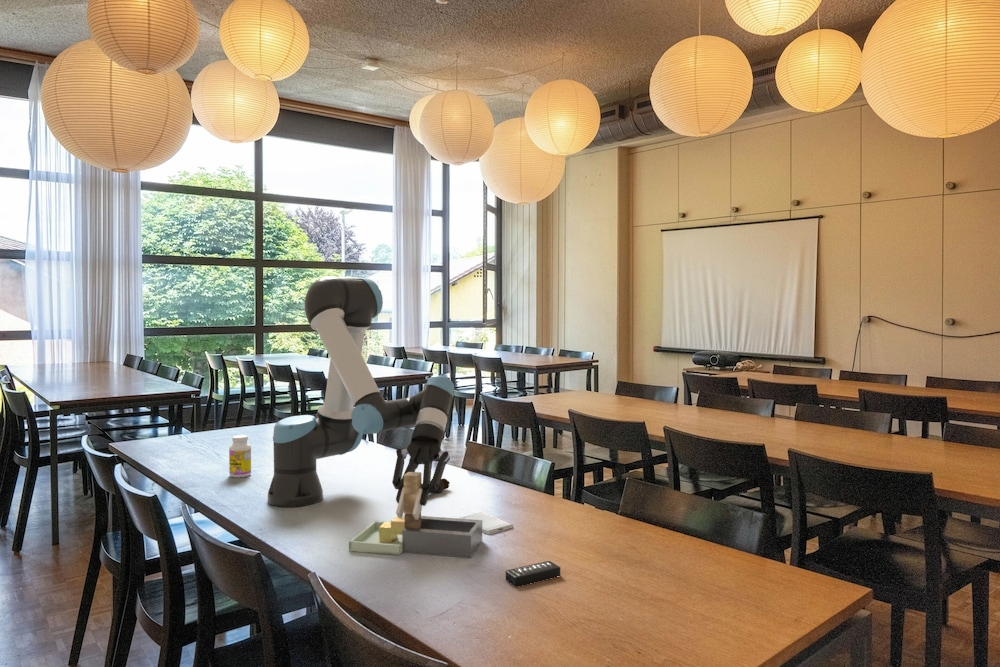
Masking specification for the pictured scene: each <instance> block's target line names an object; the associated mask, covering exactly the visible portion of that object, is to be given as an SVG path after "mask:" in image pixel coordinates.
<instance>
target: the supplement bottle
mask: <svg viewBox="0 0 1000 667" xmlns="http://www.w3.org/2000/svg"><path fill="white" fill-rule="evenodd" d="M248 439H249V436H248V435H245V434H242V435H241V434H238V435H233V436H232V438H231V440H232V444H230V445H229V450H228V451H229V454H228V455H229V464H228V467H229V469H228V470H229V472H228V473H229V476H230V477H231V478H235V479H236V478H237V479H238V478H240V477H241V478H246V477H249V476H251V474H252V445H251V444H250V443H248Z"/></svg>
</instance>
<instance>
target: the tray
mask: <svg viewBox="0 0 1000 667" xmlns="http://www.w3.org/2000/svg"><path fill="white" fill-rule="evenodd" d="M385 522H386V521H377V520H374V521H373V522H372V523H370V524H369V525H368V526H367V527H365V528H364V529H363V530H362V531H360V532H359V533H358V534H357V535H355V536H354V537H352V539H350V540H349V541H348V552H352V551H357V552H356V553H364V552H370V553H369V554H376V553H379V554H380V555H388V554H391V556H400V555H401V554H402V553H403V552H402V535H398V537H397V538H396V539H395V540H394V541H393V542H392V543H387V542H379V527H380V526H381V525H382V524H383V523H385ZM379 554H378V555H379Z"/></svg>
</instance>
